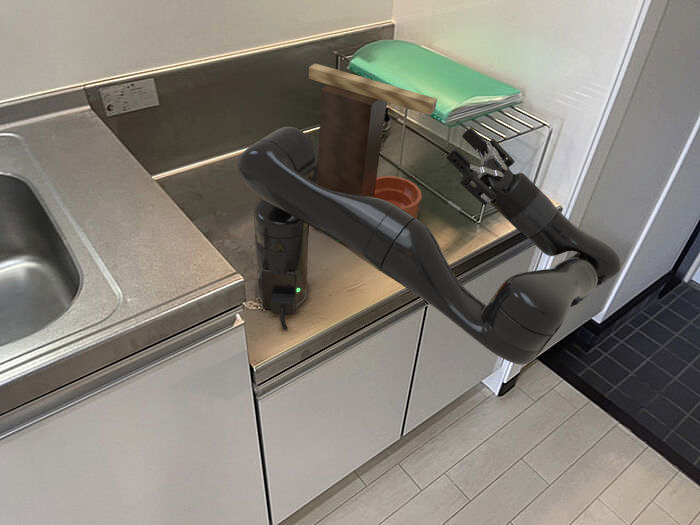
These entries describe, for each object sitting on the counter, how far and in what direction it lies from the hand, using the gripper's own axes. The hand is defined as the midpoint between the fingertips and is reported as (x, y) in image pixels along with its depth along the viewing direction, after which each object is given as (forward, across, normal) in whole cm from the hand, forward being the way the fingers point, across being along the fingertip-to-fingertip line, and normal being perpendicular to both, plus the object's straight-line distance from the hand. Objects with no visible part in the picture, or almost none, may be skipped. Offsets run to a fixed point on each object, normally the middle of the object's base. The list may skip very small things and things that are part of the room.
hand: (458, 141), depth 94 cm
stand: (+4, 0, -35) cm, 35 cm away
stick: (+17, 0, -5) cm, 18 cm away
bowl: (-2, +11, -31) cm, 33 cm away
